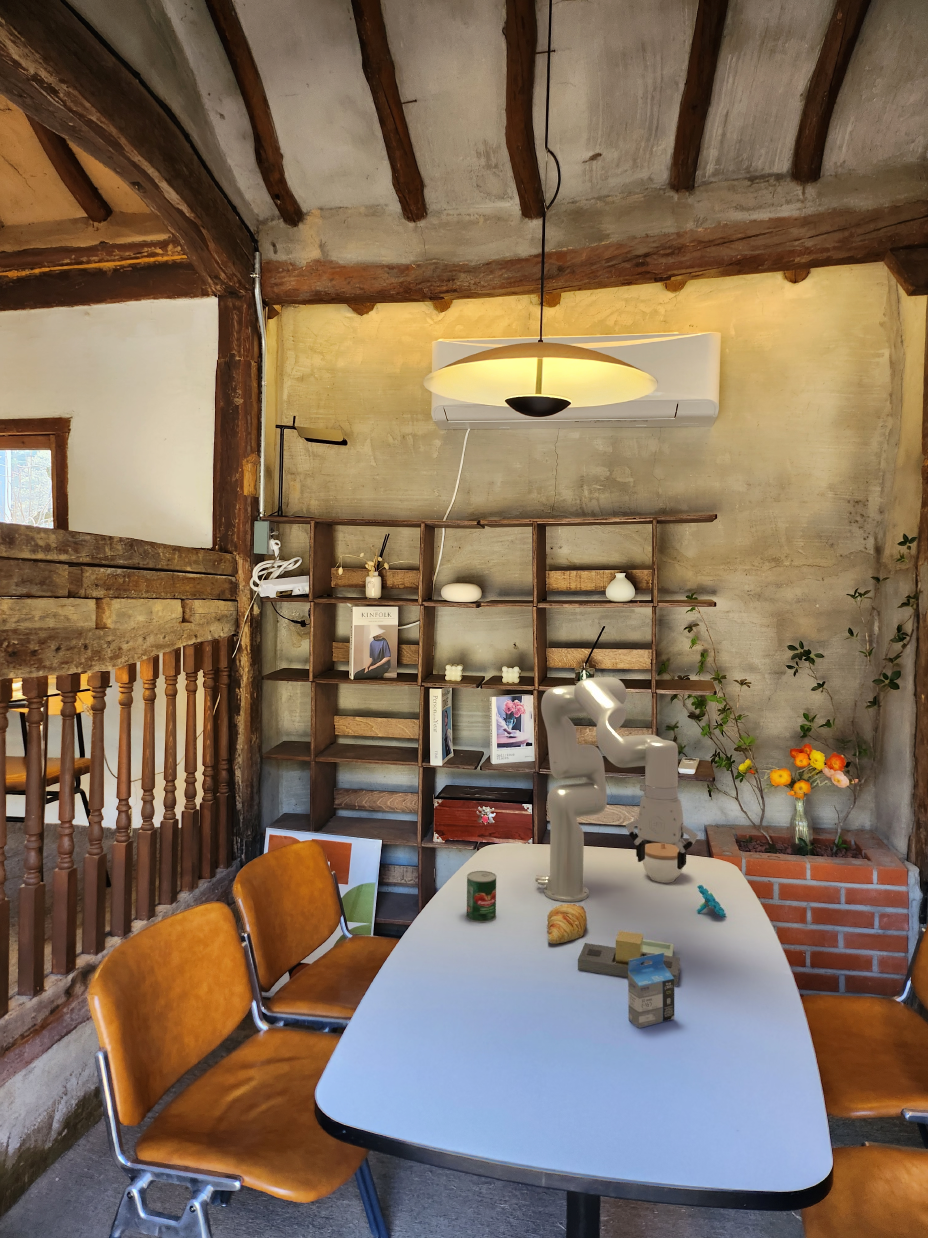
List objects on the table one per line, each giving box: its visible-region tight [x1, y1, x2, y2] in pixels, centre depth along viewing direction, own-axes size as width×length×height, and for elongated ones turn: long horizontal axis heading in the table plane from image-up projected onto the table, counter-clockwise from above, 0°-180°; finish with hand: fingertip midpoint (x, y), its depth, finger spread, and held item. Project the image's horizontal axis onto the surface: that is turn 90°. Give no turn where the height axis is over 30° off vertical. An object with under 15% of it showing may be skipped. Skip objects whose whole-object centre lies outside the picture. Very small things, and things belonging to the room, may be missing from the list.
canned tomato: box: [466, 870, 497, 924], centre depth 209 cm, size 8×8×11 cm
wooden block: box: [615, 930, 644, 965], centre depth 180 cm, size 6×6×8 cm
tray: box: [643, 939, 675, 957], centre depth 188 cm, size 12×8×2 cm, turn 71°
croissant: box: [546, 903, 588, 945], centre depth 200 cm, size 21×10×8 cm, turn 153°
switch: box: [577, 942, 681, 987], centre depth 180 cm, size 22×9×3 cm, turn 71°
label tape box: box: [627, 953, 675, 1029], centre depth 158 cm, size 9×4×12 cm, turn 114°
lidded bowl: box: [642, 842, 684, 884], centre depth 239 cm, size 13×13×11 cm
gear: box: [696, 884, 727, 918], centre depth 213 cm, size 11×6×10 cm
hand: (660, 864), depth 187 cm, fingers open, 9 cm apart
